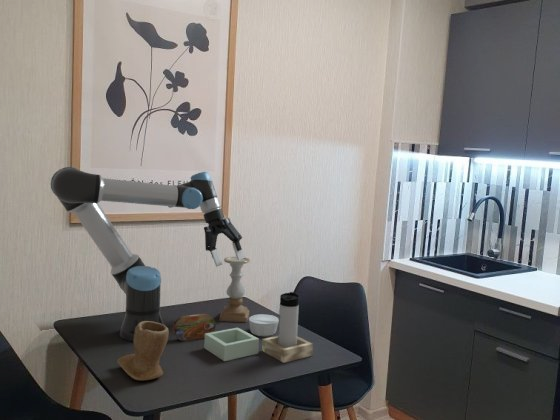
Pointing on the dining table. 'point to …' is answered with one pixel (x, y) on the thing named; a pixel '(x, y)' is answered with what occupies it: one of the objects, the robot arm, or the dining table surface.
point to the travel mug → (288, 320)
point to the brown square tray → (287, 349)
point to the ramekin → (263, 324)
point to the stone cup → (146, 351)
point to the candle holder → (235, 294)
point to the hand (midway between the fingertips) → (229, 262)
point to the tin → (193, 326)
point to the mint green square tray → (231, 344)
